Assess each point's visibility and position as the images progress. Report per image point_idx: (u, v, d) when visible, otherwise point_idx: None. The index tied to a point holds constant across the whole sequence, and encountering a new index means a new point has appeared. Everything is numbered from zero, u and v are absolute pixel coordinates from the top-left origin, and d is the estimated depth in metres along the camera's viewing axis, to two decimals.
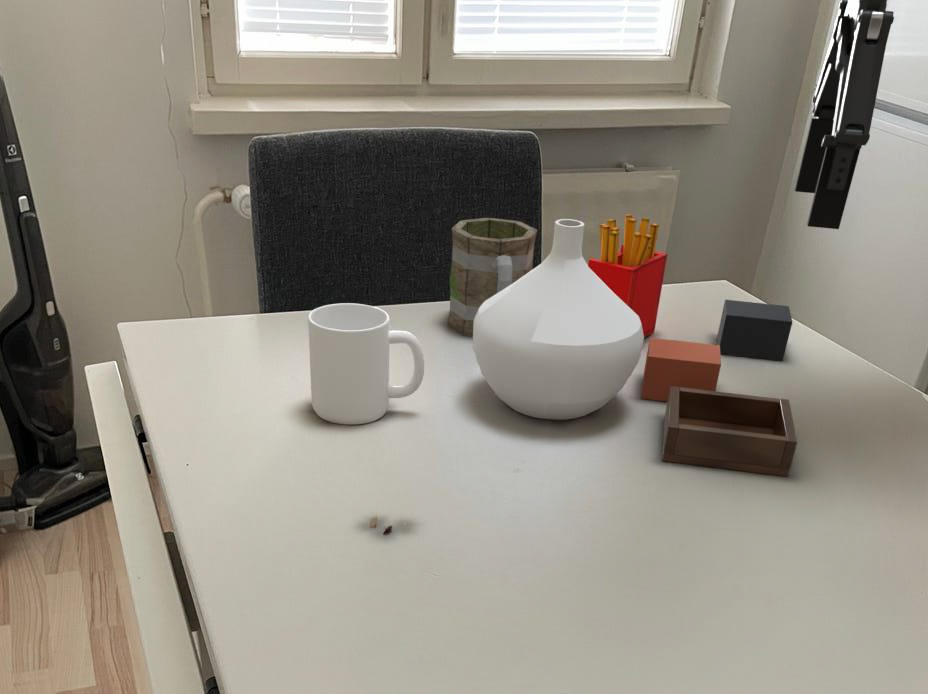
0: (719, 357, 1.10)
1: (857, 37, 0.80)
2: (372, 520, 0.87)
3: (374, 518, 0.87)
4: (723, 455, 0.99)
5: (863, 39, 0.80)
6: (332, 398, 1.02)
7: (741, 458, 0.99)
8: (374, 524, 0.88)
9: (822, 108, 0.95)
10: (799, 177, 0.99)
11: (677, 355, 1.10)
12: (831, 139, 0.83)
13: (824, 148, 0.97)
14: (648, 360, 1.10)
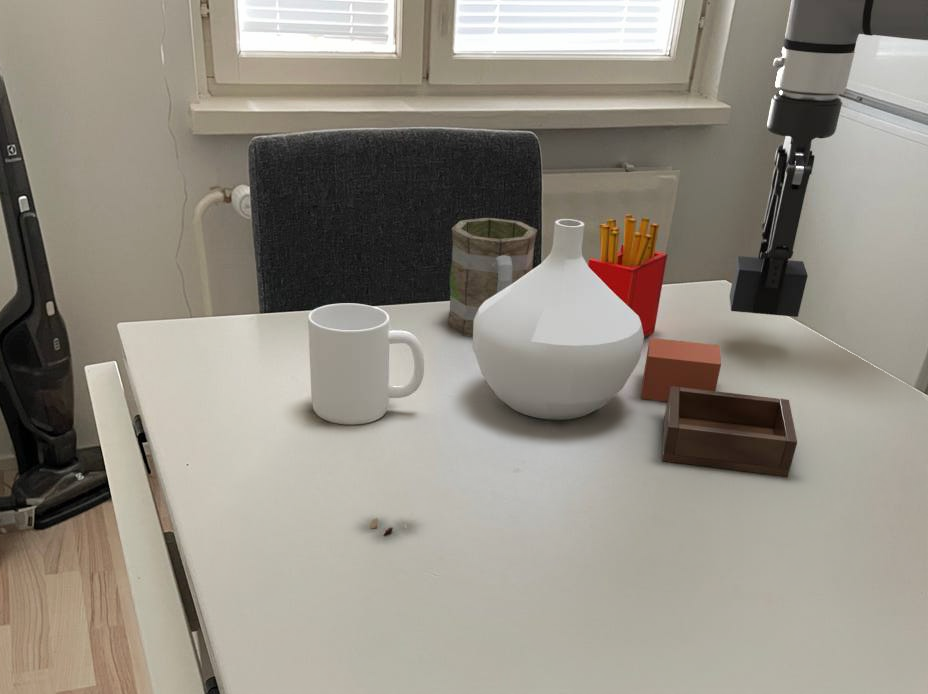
0: (719, 357, 1.10)
1: (785, 184, 1.09)
2: (372, 521, 0.87)
3: (375, 519, 0.87)
4: (723, 455, 0.99)
5: (789, 186, 1.09)
6: (332, 398, 1.02)
7: (741, 458, 0.99)
8: (374, 525, 0.87)
9: (769, 234, 1.22)
10: None
11: (677, 355, 1.10)
12: (766, 255, 1.15)
13: None
14: (648, 360, 1.10)
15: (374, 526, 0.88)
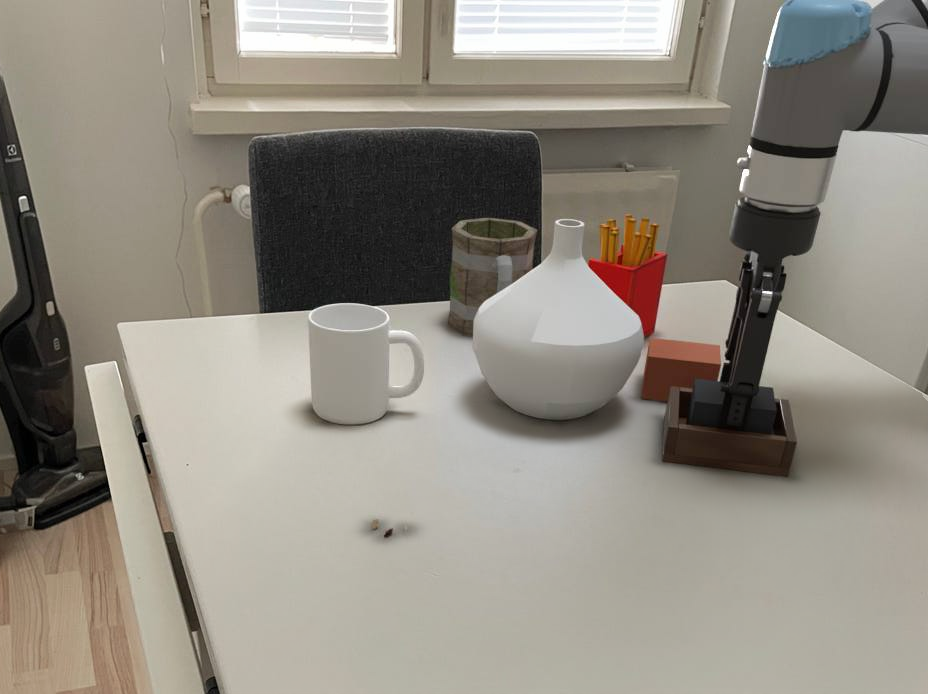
0: (719, 357, 1.10)
1: (749, 312, 0.89)
2: (373, 522, 0.87)
3: (375, 520, 0.87)
4: (723, 455, 0.99)
5: (754, 313, 0.89)
6: (332, 398, 1.02)
7: (741, 458, 0.99)
8: (375, 526, 0.87)
9: (733, 354, 1.02)
10: None
11: (677, 355, 1.10)
12: (727, 389, 0.95)
13: None
14: (648, 360, 1.10)
15: (374, 527, 0.87)
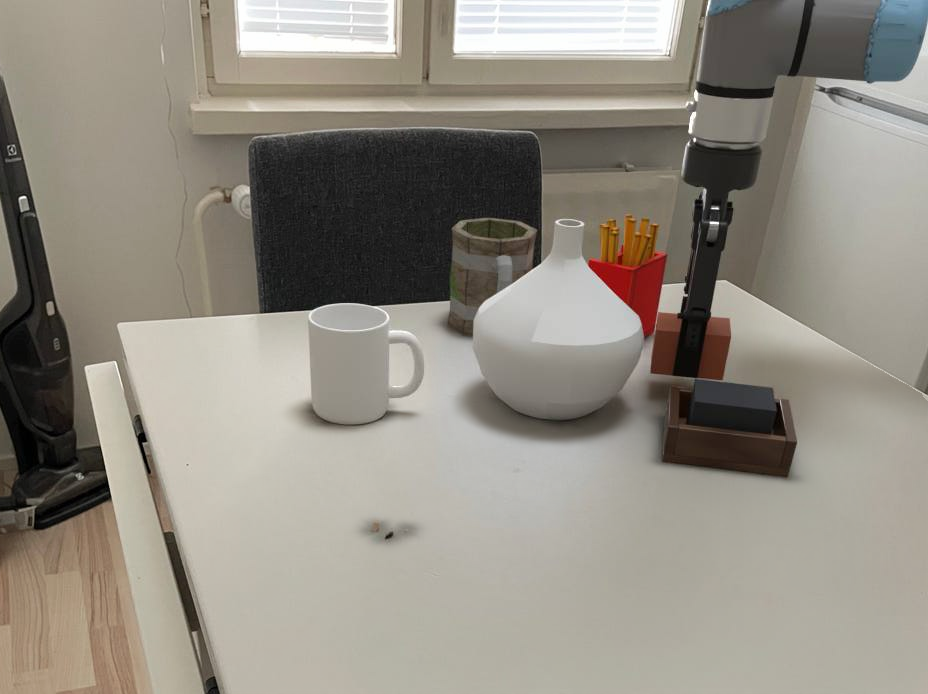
0: (729, 329, 1.08)
1: (699, 241, 0.99)
2: (374, 525, 0.87)
3: (376, 523, 0.87)
4: (723, 455, 0.99)
5: (704, 243, 0.99)
6: (332, 398, 1.02)
7: (741, 458, 0.99)
8: (375, 529, 0.87)
9: None
10: None
11: None
12: (683, 316, 1.05)
13: None
14: (657, 334, 1.08)
15: (375, 530, 0.87)
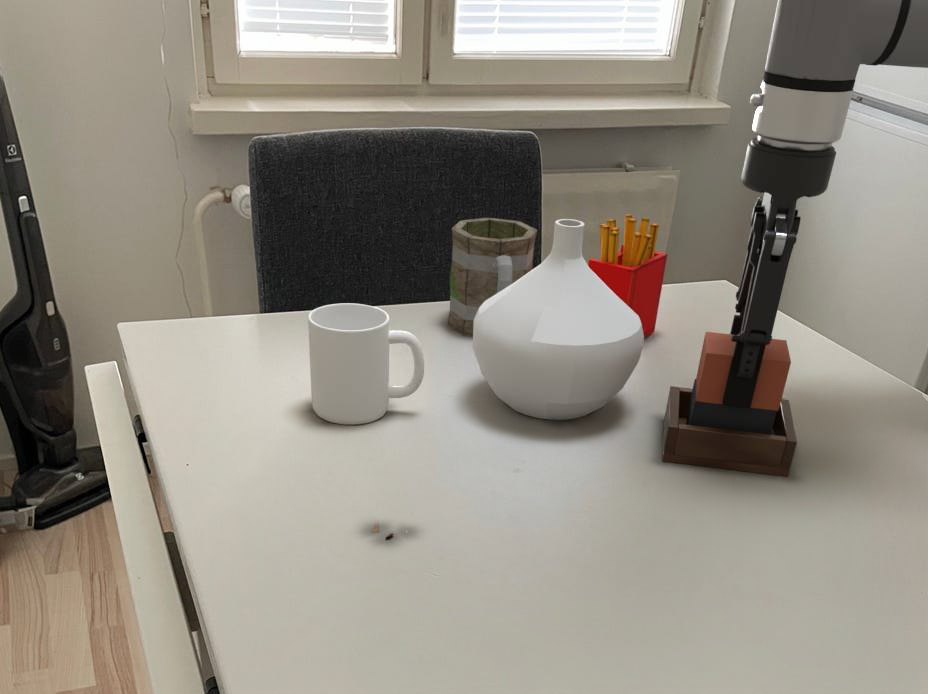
0: (788, 354, 0.96)
1: (762, 255, 0.86)
2: (374, 527, 0.87)
3: (376, 525, 0.87)
4: (723, 455, 0.99)
5: (768, 257, 0.86)
6: (332, 398, 1.02)
7: (741, 458, 0.99)
8: (376, 531, 0.87)
9: (744, 306, 0.99)
10: None
11: None
12: (738, 338, 0.92)
13: None
14: (706, 357, 0.96)
15: (375, 532, 0.87)
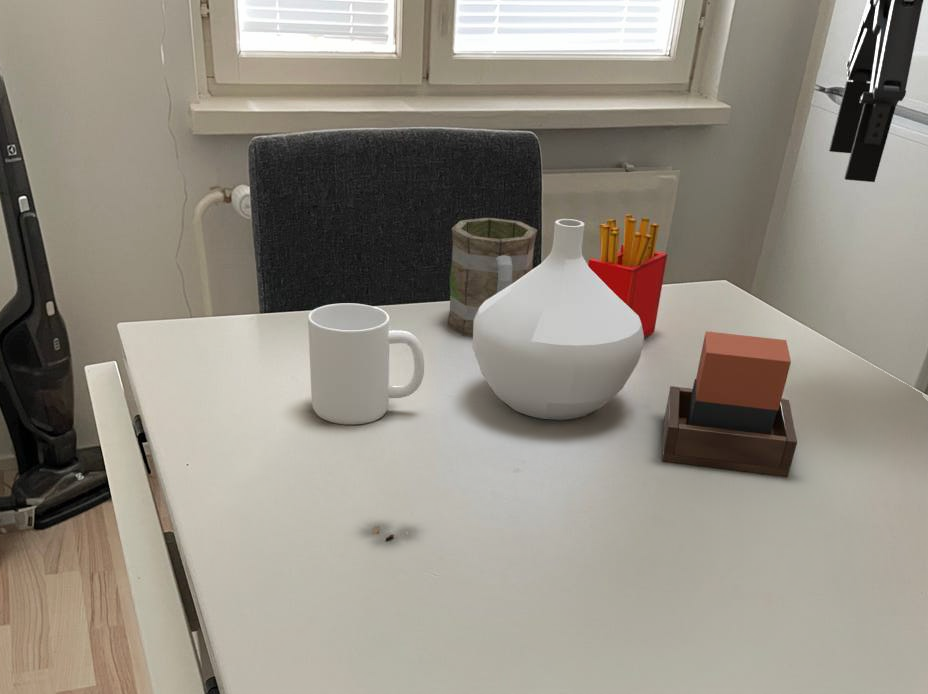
0: (788, 353, 0.96)
1: None
2: (374, 528, 0.87)
3: (376, 526, 0.87)
4: (723, 455, 0.99)
5: (900, 1, 0.86)
6: (332, 398, 1.02)
7: (741, 458, 0.99)
8: (376, 532, 0.87)
9: (856, 72, 1.02)
10: (834, 138, 1.05)
11: (739, 352, 0.96)
12: (869, 96, 0.90)
13: (858, 110, 1.03)
14: (706, 357, 0.96)
15: (375, 533, 0.87)
